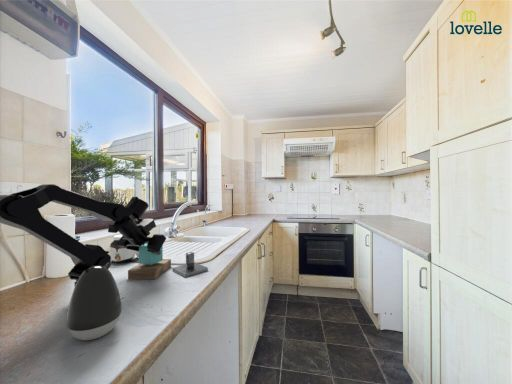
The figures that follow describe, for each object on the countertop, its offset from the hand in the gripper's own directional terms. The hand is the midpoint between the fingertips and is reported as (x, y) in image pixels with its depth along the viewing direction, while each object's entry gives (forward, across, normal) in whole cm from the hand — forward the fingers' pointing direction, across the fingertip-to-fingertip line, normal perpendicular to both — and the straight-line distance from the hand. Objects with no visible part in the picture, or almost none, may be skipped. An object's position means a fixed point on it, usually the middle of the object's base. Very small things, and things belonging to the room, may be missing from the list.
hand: (153, 252), depth 91 cm
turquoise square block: (+1, 0, +3) cm, 3 cm away
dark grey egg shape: (-20, -18, +30) cm, 41 cm away
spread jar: (+11, +23, 0) cm, 25 cm away
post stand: (+9, -14, +2) cm, 16 cm away
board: (+4, 0, +6) cm, 7 cm away
